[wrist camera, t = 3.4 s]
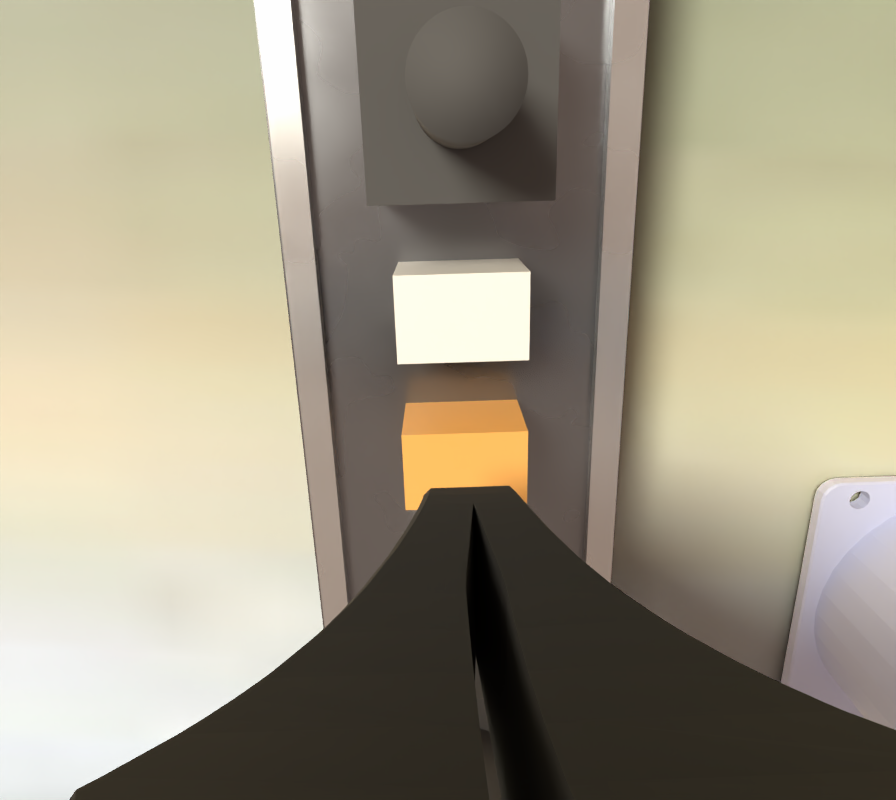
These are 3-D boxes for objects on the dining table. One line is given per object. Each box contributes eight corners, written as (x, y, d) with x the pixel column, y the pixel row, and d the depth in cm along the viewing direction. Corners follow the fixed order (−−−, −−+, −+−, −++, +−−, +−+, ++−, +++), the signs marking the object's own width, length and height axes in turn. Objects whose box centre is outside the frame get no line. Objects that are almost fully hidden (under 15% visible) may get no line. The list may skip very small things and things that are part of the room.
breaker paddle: (518, 258, 13) (530, 271, 11) (517, 336, 14) (529, 360, 12) (398, 261, 13) (392, 276, 11) (402, 339, 13) (397, 364, 12)
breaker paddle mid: (517, 399, 14) (528, 431, 12) (516, 466, 15) (527, 506, 13) (405, 403, 14) (401, 435, 12) (409, 470, 14) (405, 510, 13)
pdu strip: (625, -191, 13) (675, -286, 10) (577, 749, 21) (597, 834, 18) (264, -182, 13) (218, -275, 10) (356, 757, 21) (345, 844, 18)
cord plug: (537, 18, 12) (605, -85, 7) (534, 195, 13) (592, 210, 8) (369, 23, 12) (321, -78, 7) (379, 199, 13) (344, 217, 8)
